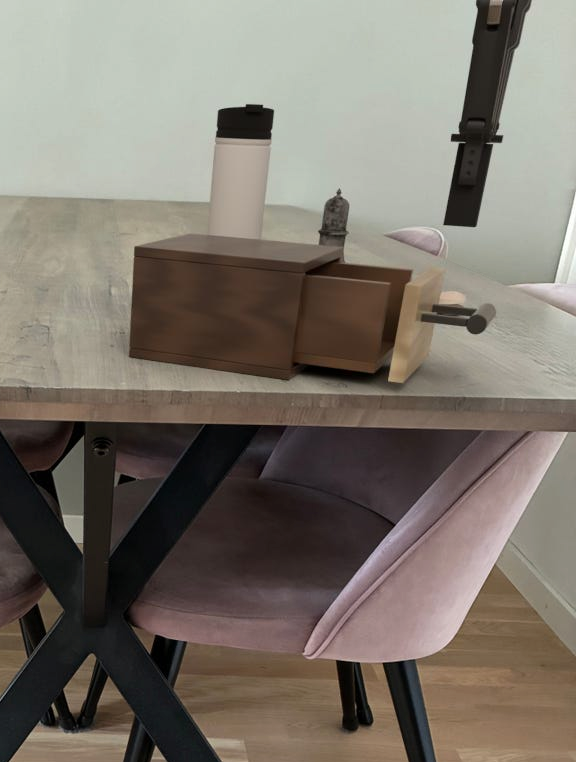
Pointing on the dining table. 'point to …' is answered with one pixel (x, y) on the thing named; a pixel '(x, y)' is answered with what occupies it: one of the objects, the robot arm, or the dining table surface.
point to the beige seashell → (452, 299)
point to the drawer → (375, 317)
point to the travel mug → (240, 171)
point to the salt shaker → (334, 222)
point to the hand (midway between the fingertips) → (459, 225)
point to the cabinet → (222, 302)
